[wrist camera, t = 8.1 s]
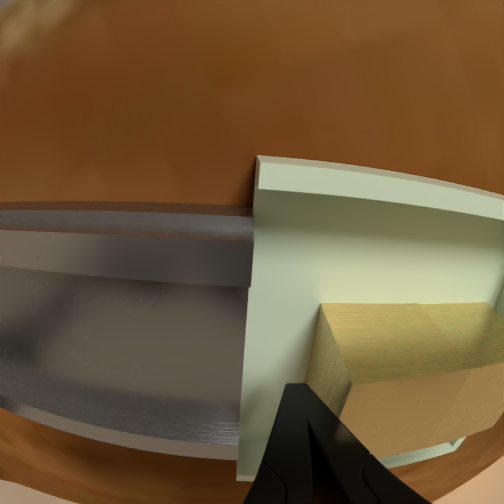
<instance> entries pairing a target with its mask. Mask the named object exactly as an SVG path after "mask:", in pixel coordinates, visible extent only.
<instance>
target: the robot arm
mask: <svg viewBox="0 0 504 504" xmlns="http://www.w3.org/2000/svg"><path fill="white" fill-rule="evenodd" d="M243 504H432V503H430V502H429V501H427V500H426V499H425V498H423V497H422V496H421V495H419V494H418V493H417V492H415V491H414V490H413V489H411V488H410V487H409V486H407V485H406V484H405V483H403V482H402V481H401V480H400V479H398V478H397V477H396V476H395V475H394V474H392V473H391V472H390V471H389V470H388V469H387V468H386V467H385V466H384V465H383V464H382V463H381V462H380V461H379V460H378V459H377V458H376V457H375V456H374V455H373V454H370V451H369V450H368V449H367V448H366V447H365V446H364V445H363V444H362V443H361V442H360V441H359V440H358V439H357V438H356V437H355V435H354V434H353V433H352V432H351V431H350V430H349V429H348V428H347V427H346V426H345V425H344V424H343V423H342V422H341V420H340V419H339V418H338V417H337V416H336V415H335V414H334V413H333V412H332V411H331V410H330V409H329V407H328V406H327V405H326V404H325V403H324V402H323V401H322V400H321V399H320V398H319V396H318V395H317V394H316V393H315V392H314V391H313V390H312V389H311V388H310V386H309V385H308V384H307V383H286V384H285V387H284V390H283V393H282V397H281V400H280V404H279V407H278V410H277V413H276V417H275V420H274V423H273V426H272V430H271V433H270V436H269V439H268V442H267V445H266V448H265V451H264V454H263V457H262V460H261V464H260V466H259V469H258V472H257V474H256V477H255V479H254V482H253V484H252V487H251V489H250V491H249V492H248V494H247V496H246V498H245V500H244V502H243Z"/></svg>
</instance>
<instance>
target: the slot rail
mask: <svg viewBox="0 0 504 504" xmlns="http://www.w3.org/2000/svg"><path fill="white" fill-rule="evenodd" d="M253 223H254V213H253V207H240V206H222V205H201V204H177V203H145V202H11V203H0V407H1V408H3V409H5V410H8V411H10V412H12V413H15V414H17V415H20V416H22V417H25V418H28V419H30V420H33V421H36V422H38V423H41V424H44V425H47V426H50V427H53V428H56V429H59V430H62V431H66V432H69V433H72V434H76V435H79V436H83V437H86V438H90V439H94V440H98V441H102V442H106V443H111V444H115V445H120V446H124V447H129V448H135V449H140V450H146V451H151V452H158V453H164V454H172V455H179V456H188V457H198V458H209V459H224V460H238V451H239V419H240V405H241V391H242V377H243V363H244V349H245V335H246V321H247V307H248V293H249V287H251V279H252V265H253V252H254V233H253Z"/></svg>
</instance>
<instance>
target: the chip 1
mask: <svg viewBox="0 0 504 504" xmlns="http://www.w3.org/2000/svg"><path fill="white" fill-rule="evenodd" d="M471 369H472V368H471V366H470V365H469V364H468V362H467V361H466V360H465V359H464V357H463V356H462V355H461V354H460V352H459V351H458V350H457V349H456V347H455V346H454V345H453V344H452V342H451V341H450V340H449V339H448V338H447V336H446V335H445V334H444V333H443V331H442V330H441V329H440V328H439V327H438V326H437V324H436V323H435V322H434V321H433V320H432V318H431V317H430V316H429V315H428V314H427V313H426V311H425V310H424V309H423V308H422V307H421V306H420V305H419V303H393V304H361V303H320V308H319V313H318V318H317V323H316V329H315V334H314V338H313V343H312V348H311V353H310V357H309V362H308V366H307V371H306V375H305V380H304V383H307V384H308V385H309V386H310V388H311V389H312V390H313V391H314V392H315V393H316V394H317V395H318V396H319V398H320V399H321V400H322V401H323V402H324V403H325V404H326V405H327V406H328V407H329V409H330V410H331V411H332V412H333V413H334V414H335V415H336V416H337V417H338V418H339V419H340V420H341V422H342V423H343V424H344V425H345V426H346V427H347V428H348V429H349V430H350V431H351V432H352V433H353V434H354V435H355V437H356V438H357V439H358V440H359V441H360V442H361V443H362V444H363V445H364V446H365V447H366V448H367V449H368V450H369V451H370V454H373V455H374V456H375V457H376V458H382V457H387V456H392V455H397V454H402V453H406V452H411V451H415V450H419V449H422V448H423V447H424V445H425V444H426V443H427V441H428V440H429V438H430V437H431V436H432V434H433V433H434V431H435V430H436V428H437V427H438V425H439V424H440V422H441V421H442V419H443V418H444V416H445V414H446V413H447V411H448V410H449V408H450V406H451V405H452V403H453V401H454V400H455V398H456V396H457V395H458V393H459V391H460V389H461V388H462V386H463V384H464V382H465V380H466V379H467V377H468V375H469V373H470V371H471Z"/></svg>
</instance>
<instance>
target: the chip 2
mask: <svg viewBox="0 0 504 504" xmlns="http://www.w3.org/2000/svg"><path fill="white" fill-rule="evenodd" d="M419 305H420V306H421V307H422V308H423V309H424V310H425V311H426V313H427V314H428V315H429V316H430V317H431V318H432V320H433V321H434V322H435V323H436V324H437V326H438V327H439V328H440V329H441V330H442V331H443V333H444V334H445V335H446V336H447V338H448V339H449V340H450V341H451V342H452V344H453V345H454V346H455V347H456V349H457V350H458V351H459V352H460V354H461V355H462V356H463V357H464V359H465V360H466V361H467V362H468V364H469V365H470V366H471V368H472V369H471V371H470V373H469V375H468V377H467V379H466V380H465V382H464V384H463V386H462V388H461V389H460V391H459V393H458V395H457V396H456V398H455V400H454V401H453V403H452V405H451V406H450V408H449V410H448V411H447V413H446V414H445V416H444V418H443V419H442V421H441V422H440V424H439V425H438V427H437V428H436V430H435V431H434V433H433V434H432V436H431V437H430V438H429V440H428V441H427V443H426V444H425V445H424V447H423V448H422V449H425V448H429V447H433V446H436V445H440V444H444V443H447V442H450V441H453V440H457V439H460V438H463V437H466V436H469V435H472V434H475V433H477V432H480V431H483V430H486V429H488V428H491V427H493V426H494V424H495V423H496V422H497V420H498V419H499V417H500V416H501V414H502V413H503V412H504V318H503V317H502V316H501V315H500V314H499V313H498V312H497V311H496V310H495V309H493V308H492V307H491V306H490V305H489V304H488V303H487V302H473V303H445V304H419Z"/></svg>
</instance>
